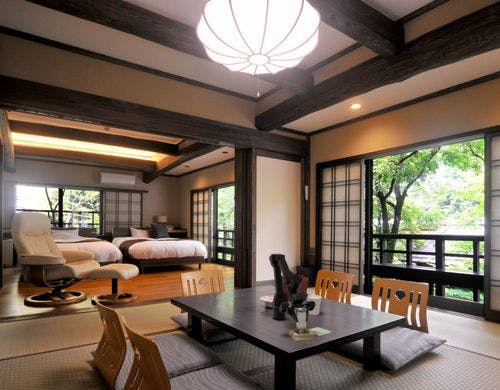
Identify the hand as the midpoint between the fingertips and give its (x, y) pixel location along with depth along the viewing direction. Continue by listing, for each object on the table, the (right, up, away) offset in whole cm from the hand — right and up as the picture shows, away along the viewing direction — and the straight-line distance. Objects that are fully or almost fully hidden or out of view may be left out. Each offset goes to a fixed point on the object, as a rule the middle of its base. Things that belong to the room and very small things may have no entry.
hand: (302, 321), depth 164 cm
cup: (+15, -12, +43) cm, 47 cm away
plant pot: (+7, -16, +85) cm, 87 cm away
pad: (+10, -9, +9) cm, 16 cm away
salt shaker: (0, -7, +1) cm, 7 cm away
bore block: (0, -8, +1) cm, 8 cm away
